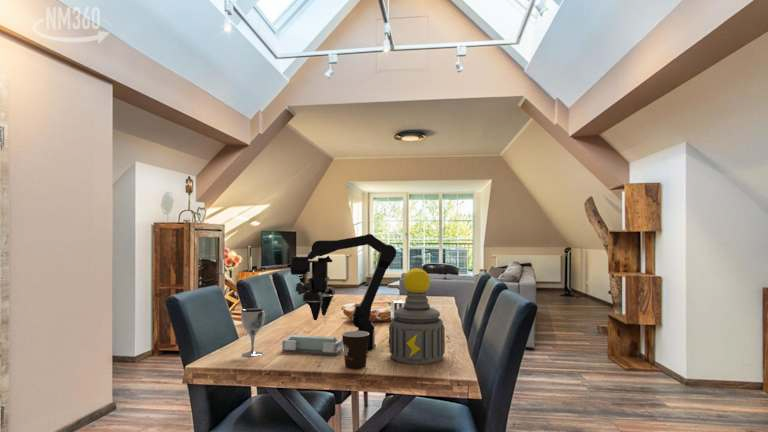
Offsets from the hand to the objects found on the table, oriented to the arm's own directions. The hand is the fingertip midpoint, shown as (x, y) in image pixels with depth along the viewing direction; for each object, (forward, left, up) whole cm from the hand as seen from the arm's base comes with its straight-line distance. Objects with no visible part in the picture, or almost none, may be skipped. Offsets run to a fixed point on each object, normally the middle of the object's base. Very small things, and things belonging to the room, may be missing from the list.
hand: (319, 317), depth 153 cm
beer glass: (-26, -20, -11) cm, 35 cm away
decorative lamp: (-36, +3, -11) cm, 38 cm away
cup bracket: (+1, +4, -11) cm, 12 cm away
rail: (+1, +4, -10) cm, 11 cm away
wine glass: (+20, +12, -11) cm, 26 cm away
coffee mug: (-18, +16, -11) cm, 26 cm away
